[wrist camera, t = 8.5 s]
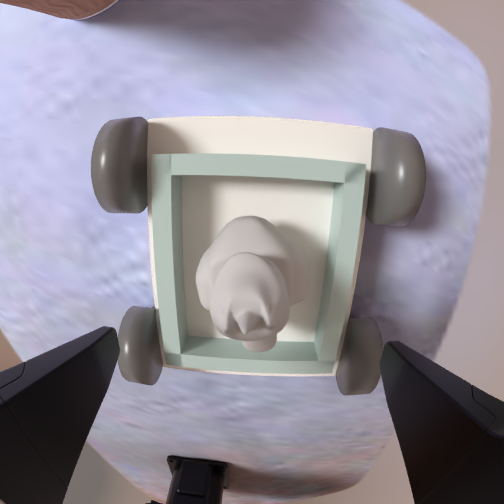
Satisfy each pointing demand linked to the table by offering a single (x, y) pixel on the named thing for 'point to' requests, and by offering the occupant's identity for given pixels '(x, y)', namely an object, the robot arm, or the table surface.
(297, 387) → the table surface
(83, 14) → the coffee cup
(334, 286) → the toy chassis
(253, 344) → the white figurine
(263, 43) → the table surface
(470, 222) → the table surface
